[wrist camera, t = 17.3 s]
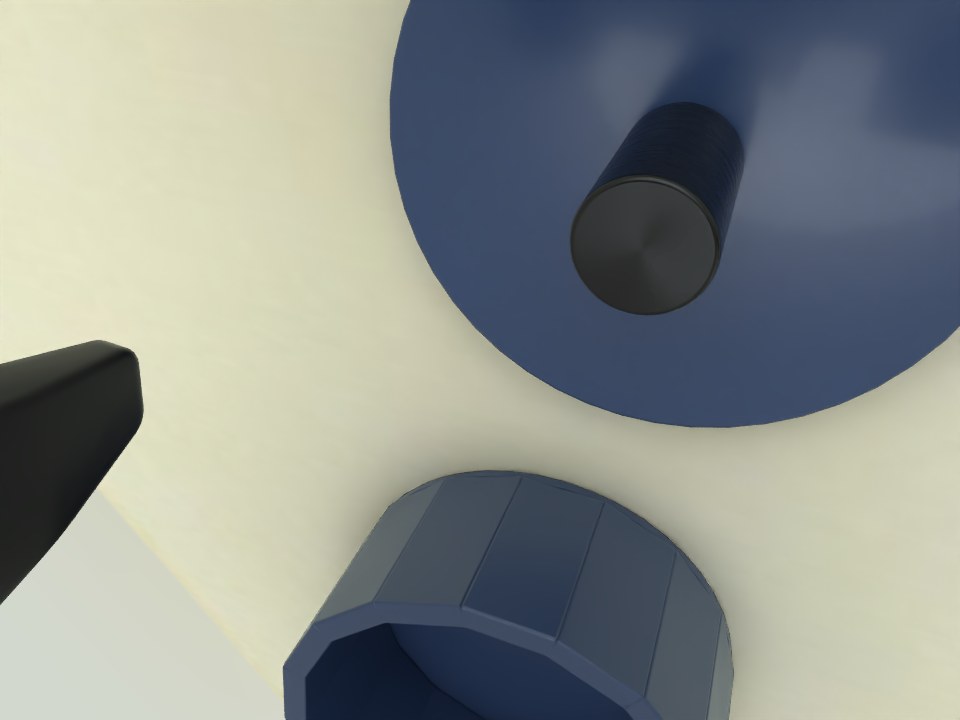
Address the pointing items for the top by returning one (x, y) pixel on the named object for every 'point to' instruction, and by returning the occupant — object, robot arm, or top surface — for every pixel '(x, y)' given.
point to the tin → (513, 614)
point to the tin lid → (689, 193)
